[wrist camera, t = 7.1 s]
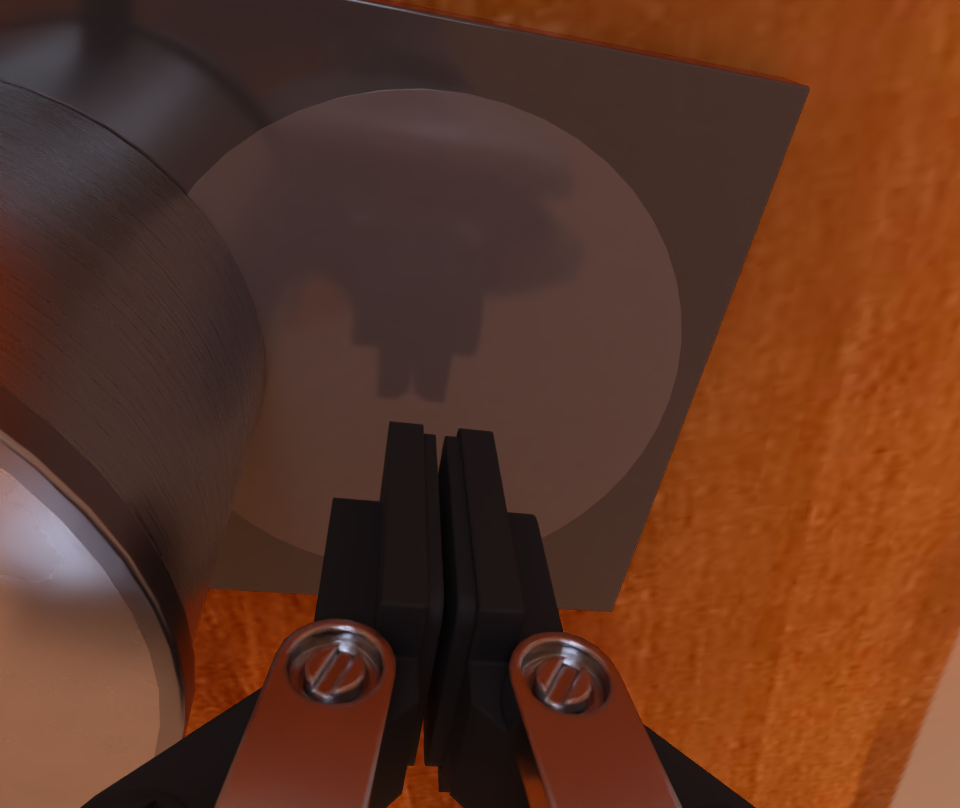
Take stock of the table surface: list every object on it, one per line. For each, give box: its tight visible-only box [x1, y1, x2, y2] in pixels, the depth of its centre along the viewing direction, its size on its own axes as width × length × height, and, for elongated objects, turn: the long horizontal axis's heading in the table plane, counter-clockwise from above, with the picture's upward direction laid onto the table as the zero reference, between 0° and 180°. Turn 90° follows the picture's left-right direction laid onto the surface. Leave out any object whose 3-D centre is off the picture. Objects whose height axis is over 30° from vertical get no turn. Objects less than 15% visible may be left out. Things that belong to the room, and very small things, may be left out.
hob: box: [0, 0, 809, 612], centre depth 14 cm, size 12×22×1 cm, turn 80°
